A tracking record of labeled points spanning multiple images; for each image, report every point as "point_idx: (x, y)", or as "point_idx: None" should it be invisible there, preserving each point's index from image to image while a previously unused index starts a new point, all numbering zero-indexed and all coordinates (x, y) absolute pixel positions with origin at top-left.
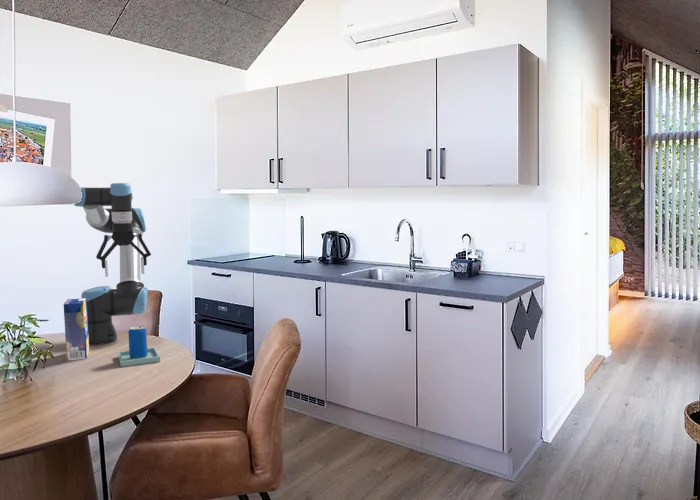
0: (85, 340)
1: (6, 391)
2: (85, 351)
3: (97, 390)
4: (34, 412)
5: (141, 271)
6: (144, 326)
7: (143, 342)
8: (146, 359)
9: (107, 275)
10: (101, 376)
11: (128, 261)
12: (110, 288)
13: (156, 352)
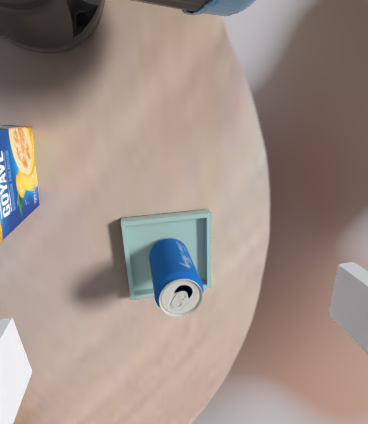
0: (20, 221)
1: None
2: (31, 211)
3: (98, 395)
4: None
5: (350, 273)
6: (201, 293)
7: (186, 288)
8: None
9: (23, 384)
10: (96, 336)
11: None
12: None
13: (208, 256)
